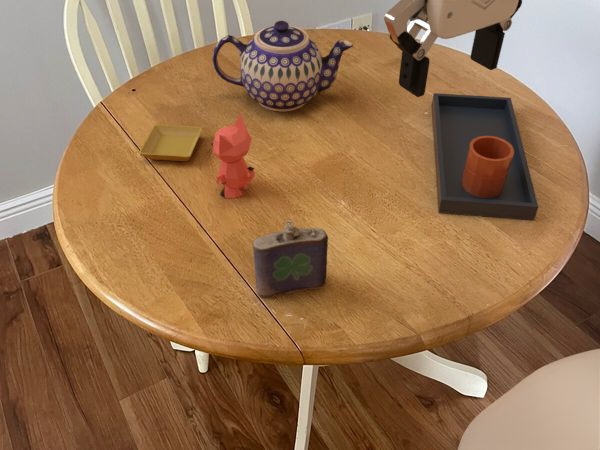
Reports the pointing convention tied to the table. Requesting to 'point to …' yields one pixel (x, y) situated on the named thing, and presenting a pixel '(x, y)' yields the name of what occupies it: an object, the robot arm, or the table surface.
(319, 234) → the flask
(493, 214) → the tray
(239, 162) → the cat figurine
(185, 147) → the yellow square dish
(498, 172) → the flower pot
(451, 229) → the table surface
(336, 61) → the teapot
